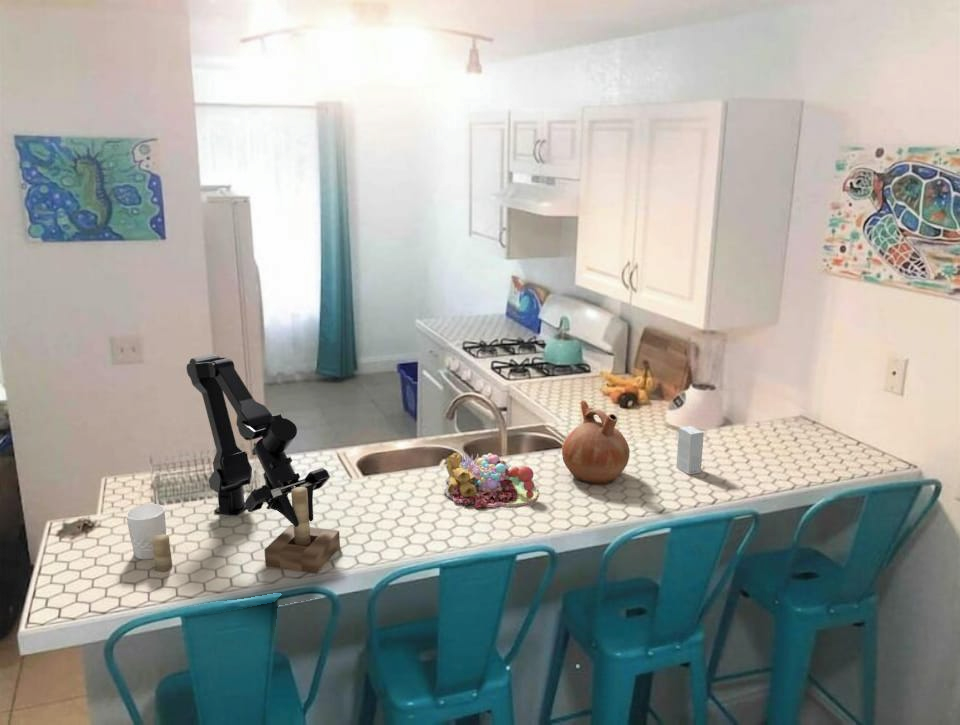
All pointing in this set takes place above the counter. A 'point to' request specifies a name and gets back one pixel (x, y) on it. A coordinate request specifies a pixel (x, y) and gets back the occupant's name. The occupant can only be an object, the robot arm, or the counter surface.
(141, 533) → the white cup
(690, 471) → the skincare box
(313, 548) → the walnut socket block
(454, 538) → the counter surface
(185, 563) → the counter surface
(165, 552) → the short oak dowel
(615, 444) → the jug
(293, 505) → the tall oak dowel
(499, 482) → the candy landscape model
